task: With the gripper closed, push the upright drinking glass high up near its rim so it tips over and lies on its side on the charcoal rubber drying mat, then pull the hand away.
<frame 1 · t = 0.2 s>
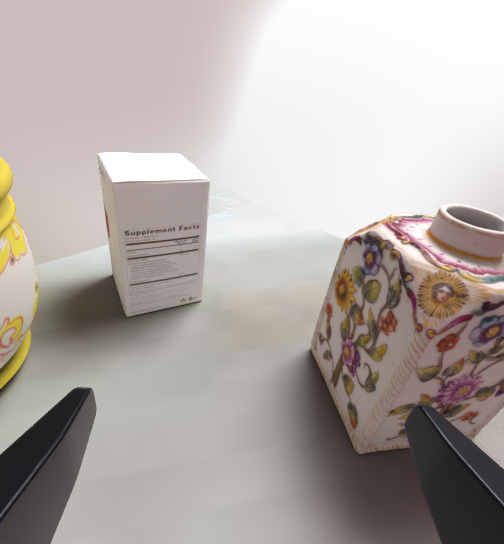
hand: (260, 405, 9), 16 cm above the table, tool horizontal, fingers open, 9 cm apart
supplement box: (156, 288, 39), on the table
decorative jar: (380, 390, 31), on the table
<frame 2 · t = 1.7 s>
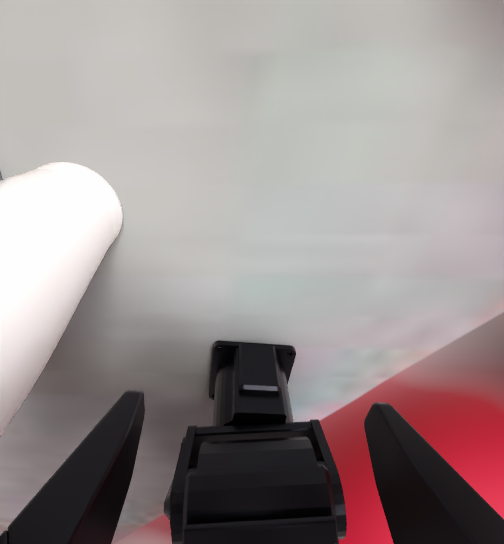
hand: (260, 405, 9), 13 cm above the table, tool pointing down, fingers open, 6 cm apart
drinking glass: (80, 204, 19), on the table
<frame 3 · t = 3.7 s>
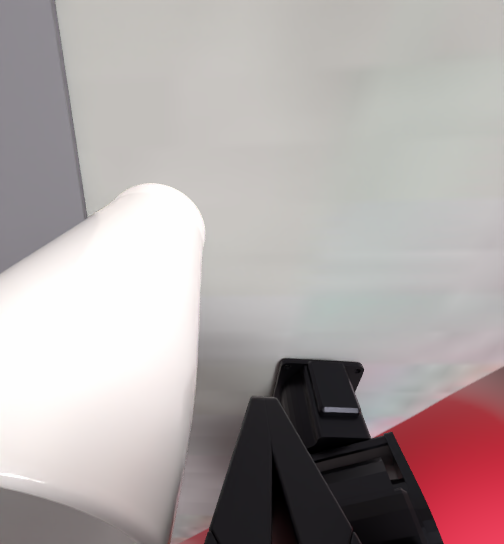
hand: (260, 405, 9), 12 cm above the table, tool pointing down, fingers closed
drinking glass: (160, 225, 18), on the table, touching gripper
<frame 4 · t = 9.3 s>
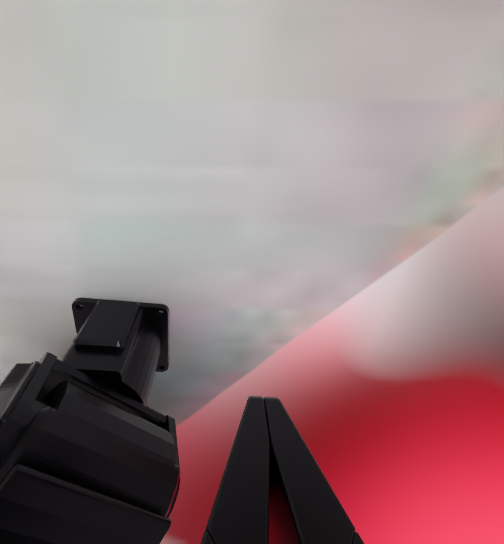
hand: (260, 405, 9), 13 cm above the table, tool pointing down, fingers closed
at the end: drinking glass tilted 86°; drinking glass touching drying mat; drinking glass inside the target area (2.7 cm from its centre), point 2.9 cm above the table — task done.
